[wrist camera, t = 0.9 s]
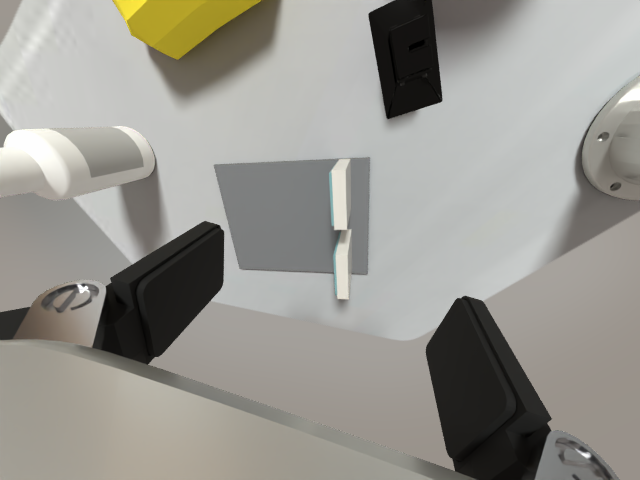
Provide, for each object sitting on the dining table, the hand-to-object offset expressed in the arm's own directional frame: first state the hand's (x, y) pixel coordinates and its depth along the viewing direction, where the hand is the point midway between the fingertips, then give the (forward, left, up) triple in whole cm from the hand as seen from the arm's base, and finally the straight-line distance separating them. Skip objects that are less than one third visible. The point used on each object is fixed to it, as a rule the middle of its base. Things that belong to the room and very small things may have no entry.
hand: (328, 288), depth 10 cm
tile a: (+1, +1, -22) cm, 22 cm away
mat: (+8, +6, -23) cm, 25 cm away
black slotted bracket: (-5, -11, -23) cm, 26 cm away
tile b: (+1, +10, -22) cm, 24 cm away
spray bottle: (+30, -4, -23) cm, 38 cm away
